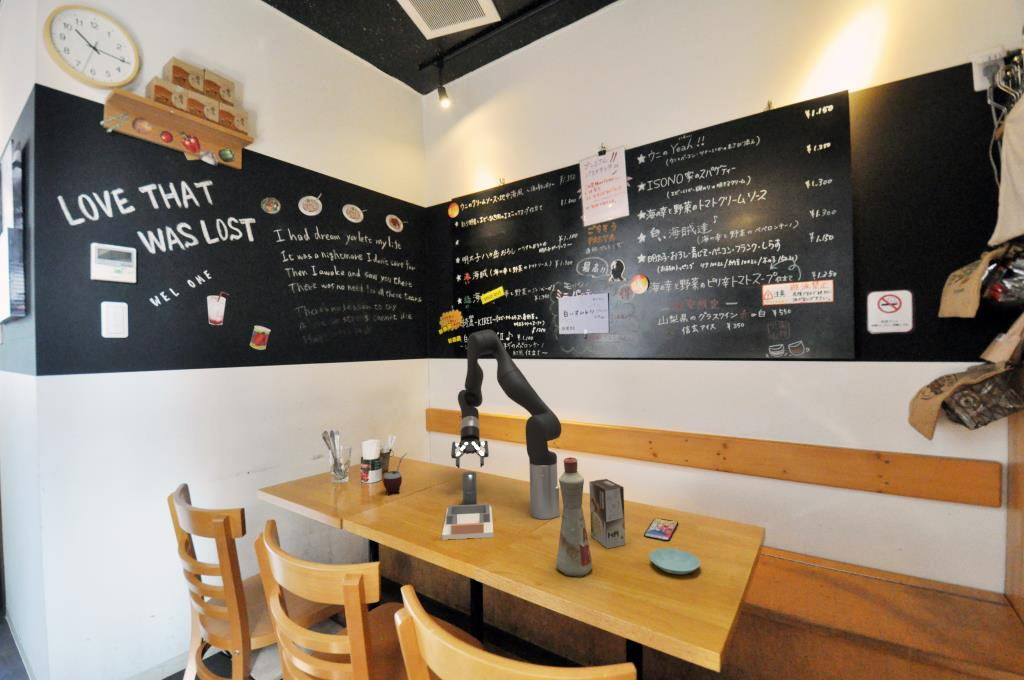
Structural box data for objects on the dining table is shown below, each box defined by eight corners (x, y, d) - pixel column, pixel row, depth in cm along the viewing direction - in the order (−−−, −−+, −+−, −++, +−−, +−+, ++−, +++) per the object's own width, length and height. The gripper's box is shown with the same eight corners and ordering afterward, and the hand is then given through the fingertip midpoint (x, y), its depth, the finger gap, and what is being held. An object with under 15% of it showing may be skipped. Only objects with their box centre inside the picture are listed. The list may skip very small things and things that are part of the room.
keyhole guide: (491, 510, 152) (491, 498, 152) (493, 537, 130) (493, 523, 130) (447, 512, 151) (447, 500, 151) (441, 540, 129) (441, 526, 129)
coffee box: (626, 545, 123) (625, 487, 123) (606, 549, 121) (605, 490, 121) (608, 532, 132) (606, 478, 132) (589, 536, 129) (588, 481, 130)
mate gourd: (379, 495, 171) (379, 456, 171) (392, 488, 178) (392, 451, 178) (395, 497, 168) (394, 457, 168) (407, 490, 175) (407, 452, 175)
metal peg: (476, 501, 161) (476, 471, 161) (476, 506, 156) (476, 475, 156) (463, 502, 160) (462, 471, 161) (462, 507, 155) (462, 475, 156)
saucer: (706, 565, 111) (706, 556, 111) (690, 585, 102) (690, 575, 102) (660, 552, 118) (660, 544, 119) (642, 570, 109) (641, 560, 109)
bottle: (553, 561, 114) (550, 453, 115) (587, 559, 115) (585, 451, 116) (559, 579, 106) (556, 461, 106) (596, 576, 106) (593, 460, 107)
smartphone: (642, 535, 128) (654, 517, 141) (642, 538, 128) (654, 520, 141) (669, 540, 124) (679, 521, 137) (669, 544, 124) (679, 524, 137)
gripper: (451, 425, 174) (450, 462, 163) (487, 424, 175) (488, 460, 164) (452, 436, 179) (451, 472, 168) (487, 435, 180) (488, 471, 169)
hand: (469, 466), depth 166 cm, fingers open, 8 cm apart
